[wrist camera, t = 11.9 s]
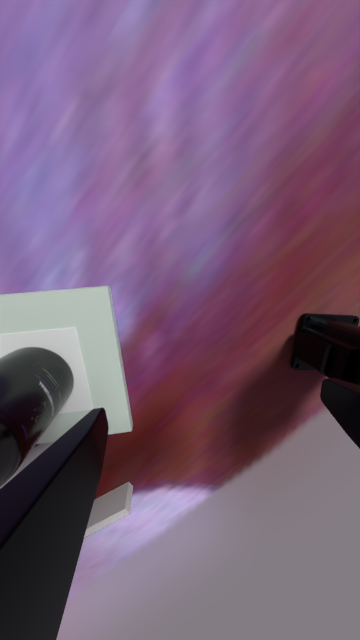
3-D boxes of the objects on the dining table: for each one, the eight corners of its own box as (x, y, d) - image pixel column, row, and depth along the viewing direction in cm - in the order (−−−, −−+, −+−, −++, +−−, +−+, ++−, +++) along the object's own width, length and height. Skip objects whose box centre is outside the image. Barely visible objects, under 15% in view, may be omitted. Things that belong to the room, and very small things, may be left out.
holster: (76, 424, 23) (64, 447, 20) (133, 486, 26) (129, 513, 23) (-1, 467, 23) (-24, 495, 20) (63, 522, 26) (52, 554, 23)
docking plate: (110, 285, 19) (107, 286, 18) (132, 424, 23) (131, 432, 22) (-74, 300, 18) (-88, 302, 17) (-14, 444, 22) (-23, 453, 21)
